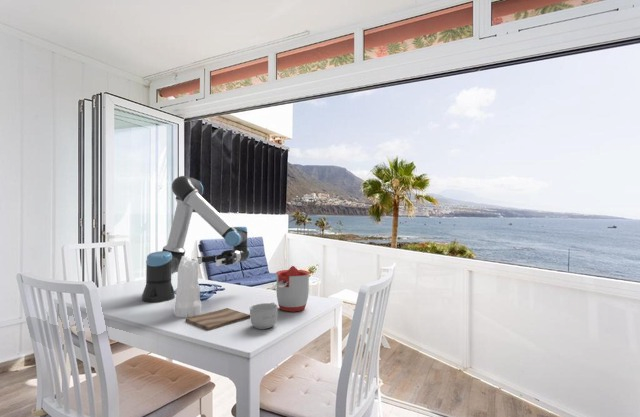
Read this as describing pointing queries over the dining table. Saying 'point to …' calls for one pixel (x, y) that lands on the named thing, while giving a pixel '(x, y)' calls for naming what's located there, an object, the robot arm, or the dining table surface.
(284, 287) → the citrus juicer
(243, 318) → the board
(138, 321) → the dining table surface
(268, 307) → the teacup
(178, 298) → the decorative vase
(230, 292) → the dining table surface
